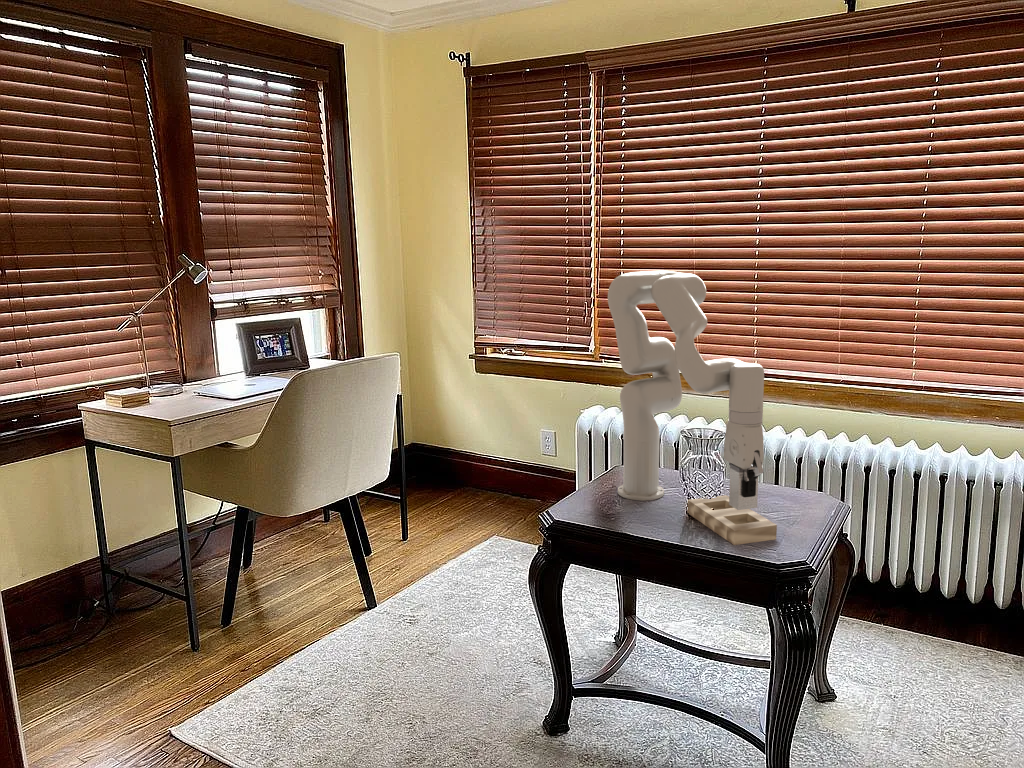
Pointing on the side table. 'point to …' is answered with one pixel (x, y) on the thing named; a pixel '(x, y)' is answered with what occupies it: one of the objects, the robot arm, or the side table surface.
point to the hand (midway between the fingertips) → (743, 492)
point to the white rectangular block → (740, 490)
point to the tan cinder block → (732, 521)
